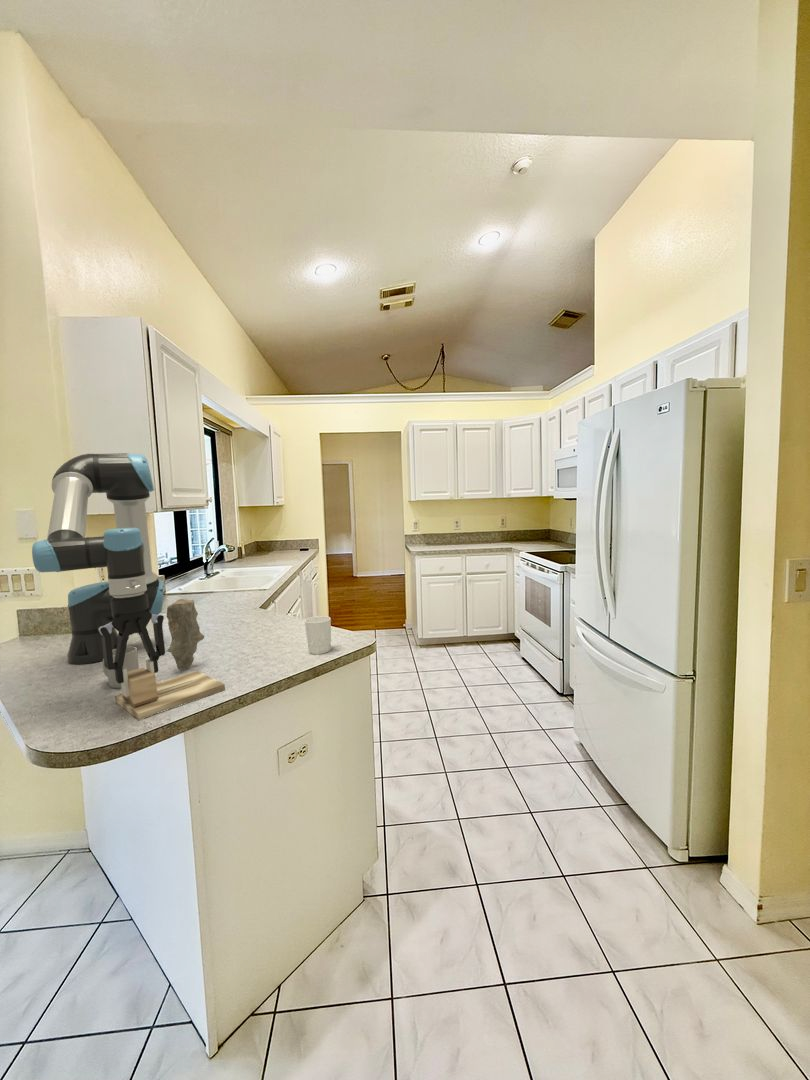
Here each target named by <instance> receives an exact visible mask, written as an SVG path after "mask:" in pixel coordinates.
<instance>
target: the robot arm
mask: <svg viewBox="0 0 810 1080" xmlns="http://www.w3.org/2000/svg"><path fill="white" fill-rule="evenodd" d="M51 479H52V480H51V490H52V492H53V494H54V496H53V501H52V507H51V512H50V519H49V527H48V530H47V537H46V539H42V540H38V541H35V542H34V543H33V544H32V547H31V548H32V549H31V556H32V557H31V558H32V563H33V565H34V568H35V570H36V571H37V572H39V573H61V572H68V571H77V570H87V569H96V568H97V569H98V568H106V569H107V580H108V581H101V582H94V583H91V584H86V585H83V586H80V587H76V588H74V589H72V590H70V591H69V593H67V608H68V613H69V620H70V621H69V622H70V628H71V640H70V643H69V648H68V652H67V662H68V663H69V664H71V665H83V664H94V663H97V662H101V661H102V662H103V659H104V666H105V667H106V668H107V669H109V670H115V677H116V681H117V683H119V684H120V683H121V687H122V688H121V694H123V695H124V696H125V697H128V696H130V695H129V686H128V675H127V669H126V668H125V667H123V664H124V658H125V652H126V647H128V646H127V645H128V641H129V638H130V636H131V635H134V634H138V636H139V637H140V640H141V642H142V644H143V646H144V649H145V652H146V653H147V656H148V658H149V659H145V666H146V667H145V669H147V670H148V671H150V672H152V673H154V674H156V673H159V664H158V663H159V659H160V657H162V656H165V655H166V646H165V639H164V632H163V631H164V630H163V629H164V628H163V623H164V620H165V616H164V615H162V614H161V613H162V611H163V607H164V605H163V604H164V581H163V580H162V579H159V575H157V574H156V573H155V572H154V571H153V566H152V557H151V556H152V555H151V548H150V538H149V528H148V518H147V509H146V501H147V500H149V498H150V497H151V495H150V493H151V492H153V491H155V488H154V487H155V486H154V482H153V478H152V474H151V469H150V466H149V463H148V459H147V457H146V456H145V455H143V454H140V453H129V452H126V453H123V452H122V453H121V452H120V453H85V454H81V455H77V456H75V457H73V458H71V459H69V460H66V462H64V463H63V464H62V465H61V466H60V467H58V469H57V470H56V471H55V473H54V474H53V477H52V478H51ZM97 493H98V494H105V495H106V499H107V501H109V502H110V503H112V504H113V510H114V520H115V526H116V527H115V528H110V529H106V530H104V531H103V535H102V536H91V537H89V536H88V537H86V533H87V532H86V529H87V519H88V504H89V497H90V496H91V495H92V494H97ZM150 621H151V623H152V627H153V628H152V629H153V635H154V644H153V642H152V640H151V638H150V634H149V631H148V629H147V627H148V625H149V623H150ZM154 645H155V647H154ZM114 649H116V655H115V660H114V663H113V653H112V650H114Z"/></svg>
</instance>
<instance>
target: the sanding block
mask: <svg viewBox="0 0 810 1080" xmlns="http://www.w3.org/2000/svg"><path fill="white" fill-rule="evenodd" d="M127 675H128V686H129V695H130V696H128V697H125V696H124V695H123V696H122V697H123V699H124V700H126V701H127V702H128V703H130V704H131V705H132V706H133V707H136V706H139V705H142V704H145V703H148V702H151V701H154V700H157V699H158V696H157V687H156V683H157V680H156V673H152V672H150V671H148V670H147V668H146V667H139V669H136V670H132V671H128V672H127Z"/></svg>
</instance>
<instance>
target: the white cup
mask: <svg viewBox="0 0 810 1080" xmlns="http://www.w3.org/2000/svg"><path fill="white" fill-rule="evenodd" d="M331 622H332V620H331V616H327V615H326V616H325V615H318V616H316V615H315V616H311V617H308V618H306V619H305V620H304V626H305V633H306V634H305V635H306V643H307V646H308V647H307V648H308V652H309V653H310V654H313V655H322V654H326V653H329V652H330V651H331V649H332V643H331V642H332V623H331Z"/></svg>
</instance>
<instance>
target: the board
mask: <svg viewBox="0 0 810 1080" xmlns="http://www.w3.org/2000/svg"><path fill="white" fill-rule="evenodd" d="M156 687H157V696H158V699H157V700H154V701H151V702H148V703H145V704H142V705H139V706H136V707H133V706H132V705H131V704H130V703H128V702H127V701H126V700H124V699H123V697H122V696H123V694H122V693H119V694H116V695H114V698H115V703H116V704H118V705H119V706H121V708H123V709H125V710H126V711H127V713H129V714H131V715H132V716H133V717H134V716H135V717H134V718H136V719H137V720H138V721H141V719H142V720H144V719H147V718H150V717H152V716H151V715H153V714H155V713H158V712H161V711H164V710H167V709H170V708H172V709H174V708H173V707H175V708H177V707H176V706H178V707H180V706H179V705H181V704H184V703H186V704H188V703H187V702H189V703H191V702H190V701H192V702H194V701H193V700H195V701H197V700H196V699H198V700H199V698H201V699H203V698H205V696H206V697H209V696H212V695H215V694H216V692H217V693H220V692H223V691H225V690H226V685H225V683H224V682H221V681H219V680H218V679H215V678H213V677H211V676H209V675H207V674H205V673H202V672H200V671H198V670H194V671H191V672H190V671H189V672H187V673H183V674H181V675H178V676H175V677H171V678H167V679H165V680H161V681H159V682H156ZM219 691H220V692H219ZM214 693H215V694H214ZM211 694H212V695H211ZM208 695H209V696H208ZM202 697H203V698H202ZM184 705H185V704H184ZM181 706H182V705H181ZM170 710H171V709H170ZM167 711H168V710H167ZM164 712H165V711H164ZM161 713H162V712H161ZM158 714H159V713H158ZM149 716H150V717H149ZM153 716H154V715H153ZM146 717H147V718H146ZM143 718H144V719H143Z"/></svg>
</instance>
